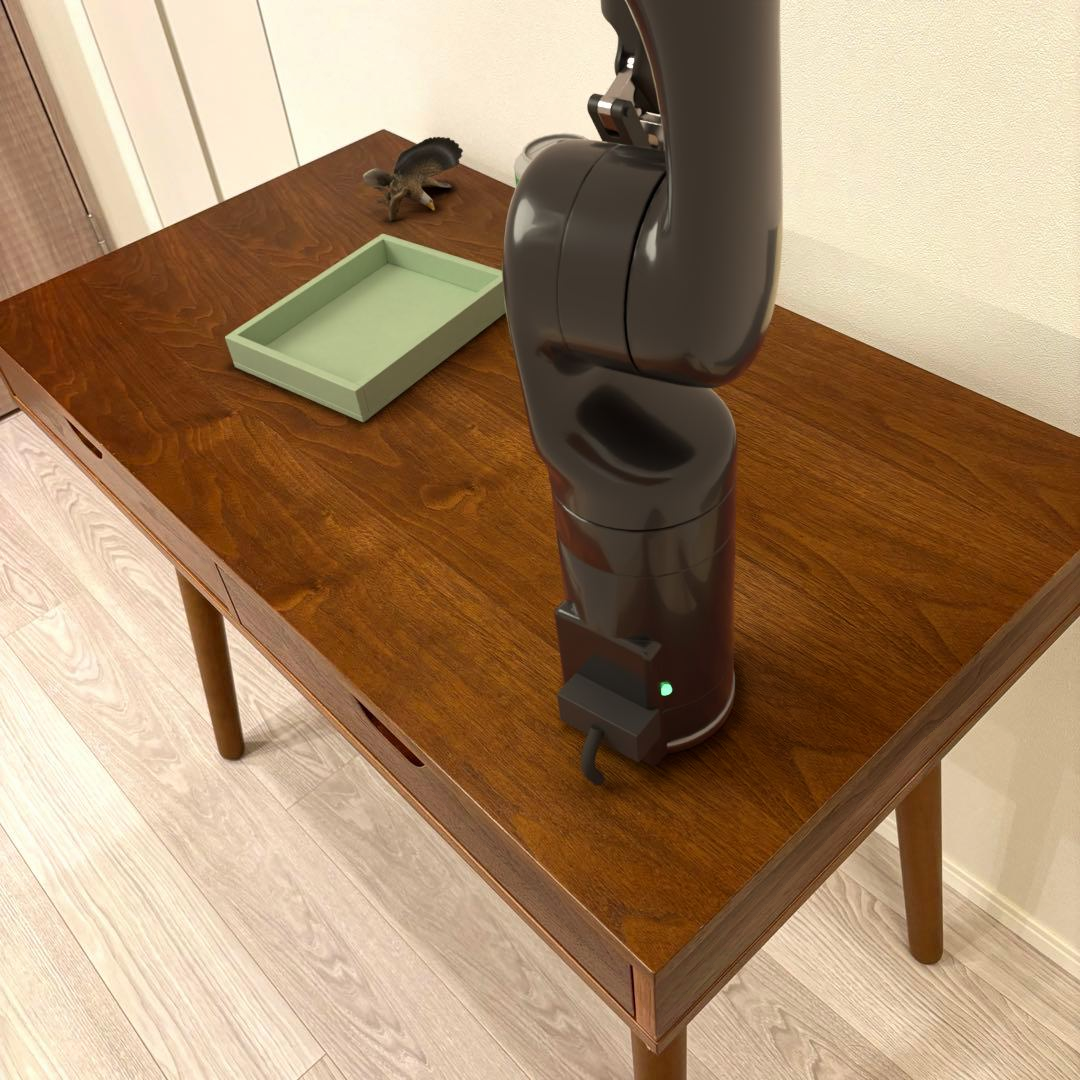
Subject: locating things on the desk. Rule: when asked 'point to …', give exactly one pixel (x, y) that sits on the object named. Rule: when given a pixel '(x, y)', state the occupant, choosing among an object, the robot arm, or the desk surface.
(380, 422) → the desk surface
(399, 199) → the brown animal figurine
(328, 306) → the tray
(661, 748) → the robot arm
